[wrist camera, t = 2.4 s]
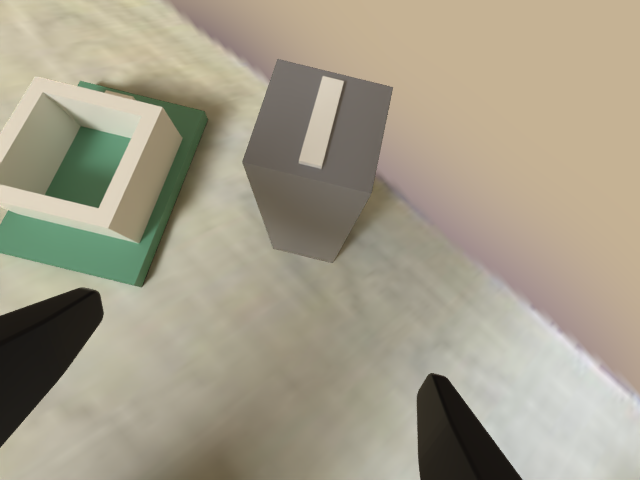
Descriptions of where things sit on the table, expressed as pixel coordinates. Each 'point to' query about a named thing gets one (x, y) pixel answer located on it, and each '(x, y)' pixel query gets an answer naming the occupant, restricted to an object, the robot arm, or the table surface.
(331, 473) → the table surface
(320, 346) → the table surface
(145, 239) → the cream and green socket
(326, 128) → the plug
